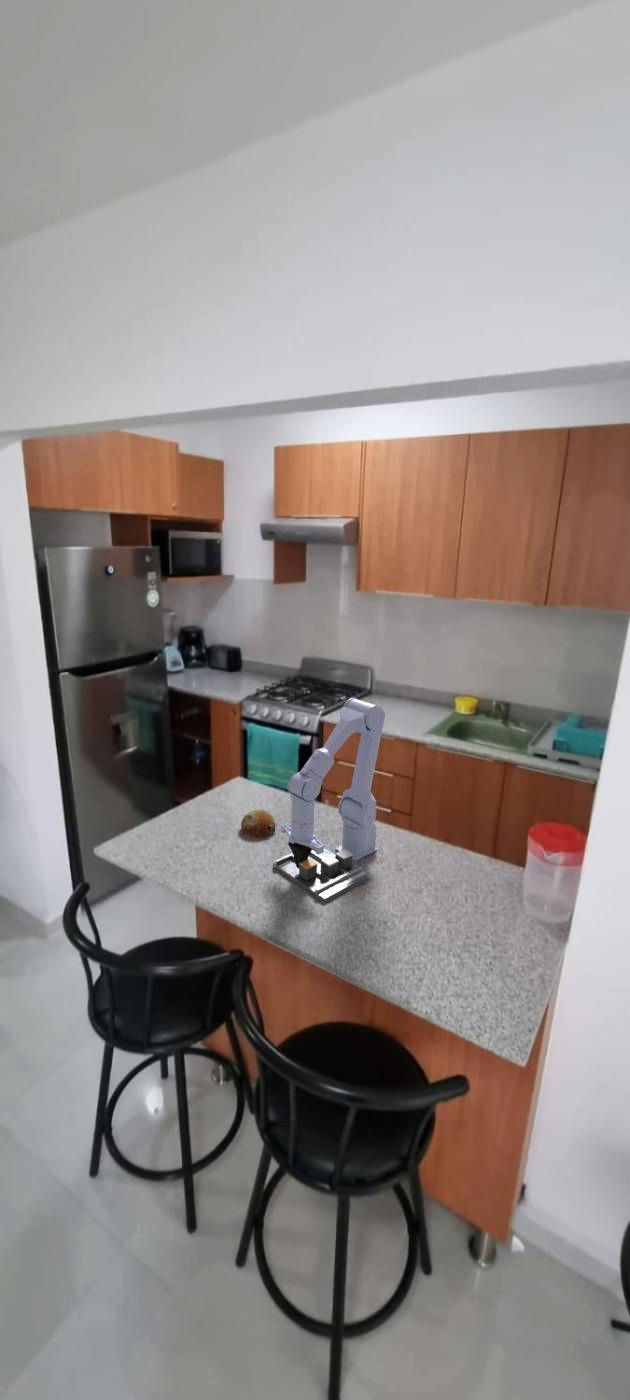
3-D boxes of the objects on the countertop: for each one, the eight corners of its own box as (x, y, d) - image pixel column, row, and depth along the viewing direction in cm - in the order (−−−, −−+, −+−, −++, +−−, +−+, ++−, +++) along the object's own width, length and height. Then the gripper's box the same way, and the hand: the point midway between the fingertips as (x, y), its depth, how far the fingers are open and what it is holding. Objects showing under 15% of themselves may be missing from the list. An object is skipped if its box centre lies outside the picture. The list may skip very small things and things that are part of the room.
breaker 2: (344, 861, 151) (344, 849, 150) (352, 865, 148) (352, 853, 148) (335, 865, 148) (335, 853, 147) (343, 870, 146) (343, 858, 145)
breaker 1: (329, 867, 147) (330, 855, 146) (337, 872, 145) (338, 860, 144) (320, 872, 145) (321, 860, 144) (328, 877, 143) (329, 865, 142)
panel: (317, 847, 160) (317, 840, 159) (369, 879, 146) (369, 871, 145) (273, 866, 149) (273, 859, 149) (324, 902, 135) (324, 895, 134)
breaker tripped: (308, 870, 145) (309, 858, 144) (316, 875, 143) (317, 863, 142) (299, 875, 143) (299, 863, 142) (306, 880, 141) (307, 868, 140)
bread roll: (261, 831, 175) (253, 806, 175) (285, 827, 169) (277, 802, 169) (240, 843, 167) (231, 818, 167) (263, 840, 161) (255, 814, 161)
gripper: (272, 813, 144) (271, 859, 147) (309, 835, 134) (307, 885, 137) (293, 805, 148) (292, 851, 152) (331, 826, 138) (328, 875, 142)
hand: (300, 866), depth 145 cm, fingers closed
